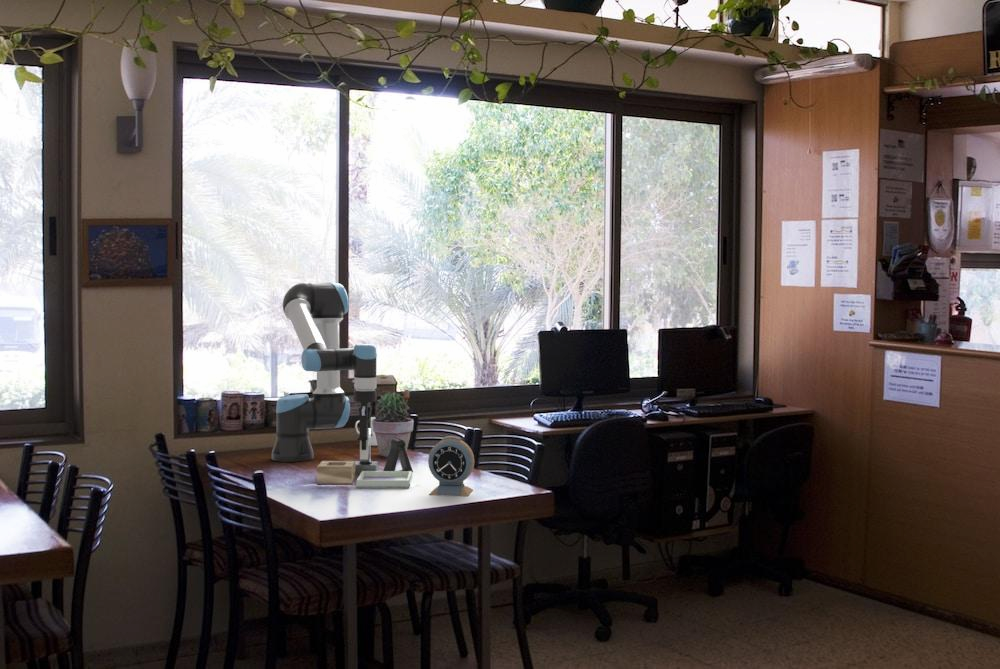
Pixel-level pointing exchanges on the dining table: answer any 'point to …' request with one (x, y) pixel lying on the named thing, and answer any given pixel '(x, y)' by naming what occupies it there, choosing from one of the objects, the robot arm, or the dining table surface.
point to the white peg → (368, 461)
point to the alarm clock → (451, 466)
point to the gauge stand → (365, 467)
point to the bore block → (336, 472)
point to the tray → (384, 483)
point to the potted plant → (392, 421)
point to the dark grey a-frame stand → (396, 450)
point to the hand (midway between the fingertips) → (365, 457)
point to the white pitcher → (373, 437)
